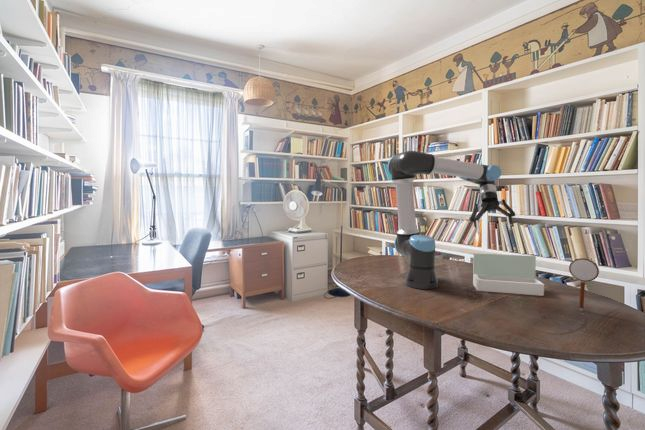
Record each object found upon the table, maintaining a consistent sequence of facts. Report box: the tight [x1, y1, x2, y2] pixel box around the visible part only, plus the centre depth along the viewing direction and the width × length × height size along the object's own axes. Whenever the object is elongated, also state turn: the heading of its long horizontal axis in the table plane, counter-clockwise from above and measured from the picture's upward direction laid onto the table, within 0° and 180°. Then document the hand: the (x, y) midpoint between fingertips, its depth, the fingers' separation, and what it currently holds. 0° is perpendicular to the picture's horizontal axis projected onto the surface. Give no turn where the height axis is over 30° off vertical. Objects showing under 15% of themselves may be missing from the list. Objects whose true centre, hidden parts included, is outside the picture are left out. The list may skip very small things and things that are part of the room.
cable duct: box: [472, 273, 545, 297], centre depth 142 cm, size 26×10×5 cm, turn 74°
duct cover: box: [472, 252, 537, 278], centre depth 147 cm, size 26×10×1 cm
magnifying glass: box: [568, 257, 600, 311], centre depth 116 cm, size 9×2×20 cm, turn 39°
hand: (493, 231), depth 152 cm, fingers open, 13 cm apart
